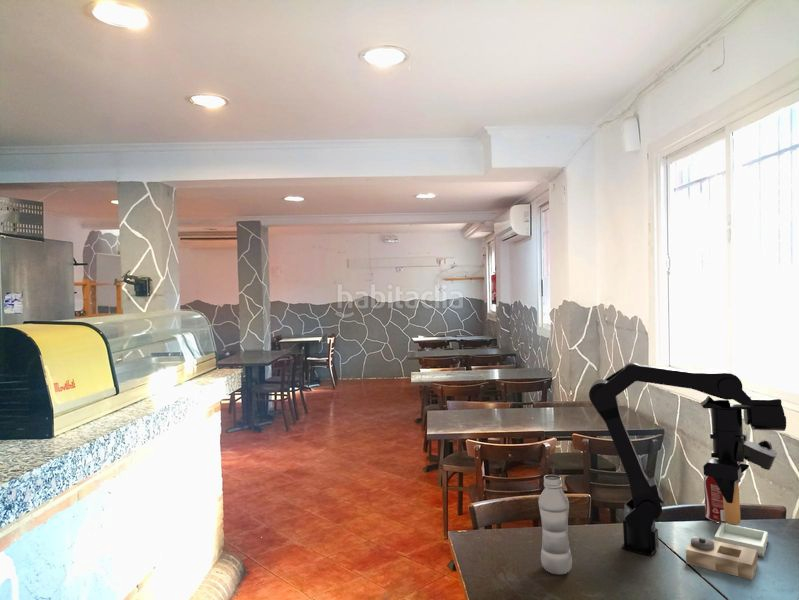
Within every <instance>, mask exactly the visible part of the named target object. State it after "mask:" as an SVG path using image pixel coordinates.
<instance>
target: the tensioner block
mask: <svg viewBox="0 0 799 600" xmlns="http://www.w3.org/2000/svg"><path fill="white" fill-rule="evenodd" d="M758 562H759V561H758V556H757V550H755V549H750V548H746V547H741V546H737V545H732V544H728V543H723V542H719V541H715V539H710V538H709V539H708V538H705V537H700V536H696V535H693V537H692V538H691V539H690V542H688V545H687V546H686V548H685V564H687V565H692V566H695V567H700V568H704V569H708V570H712V571H716V572H719V573H724V574H728V575H731V576H736V577H739V578H743V579H746V580H752V581H754V577H755V575H756V571H757V568H758V565H759V563H758Z"/></svg>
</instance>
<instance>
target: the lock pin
mask: <svg viewBox="0 0 799 600" xmlns="http://www.w3.org/2000/svg"><path fill="white" fill-rule="evenodd" d="M741 480H742V479H741V478H740V479H739V480H737V481H736V484H735V491H734V498H733V503H727V502H726V500H725V498H724V496H723V503H724V520H725V522H727V523H730V524H731V525H740V524H741V523H742V520H741V505H740V503H741V501H740V486H739V483H740V482H741Z"/></svg>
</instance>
